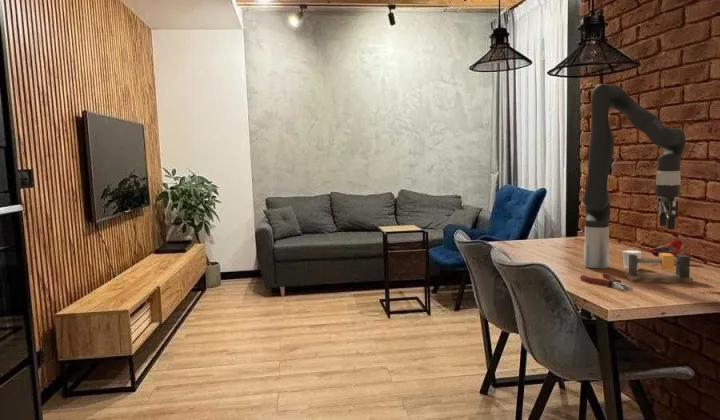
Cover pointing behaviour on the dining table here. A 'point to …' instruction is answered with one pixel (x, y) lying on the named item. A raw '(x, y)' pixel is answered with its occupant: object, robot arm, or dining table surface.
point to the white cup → (626, 257)
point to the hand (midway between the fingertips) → (666, 227)
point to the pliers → (606, 281)
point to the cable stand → (680, 275)
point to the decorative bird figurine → (667, 248)
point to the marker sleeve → (666, 261)
